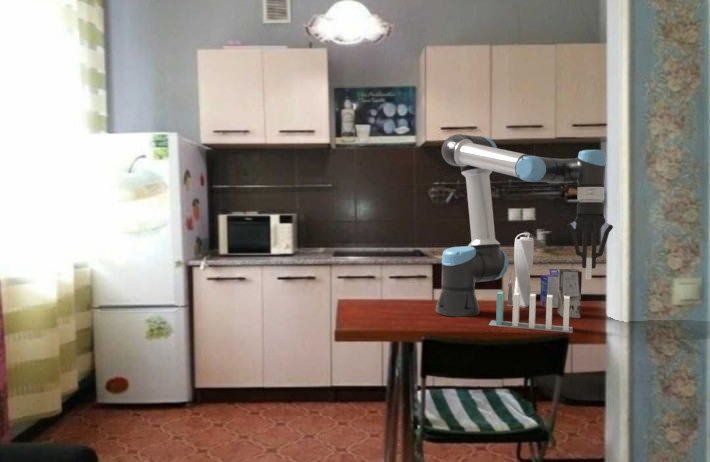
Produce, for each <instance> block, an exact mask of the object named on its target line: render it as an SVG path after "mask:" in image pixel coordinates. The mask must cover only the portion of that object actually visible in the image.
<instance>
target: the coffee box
mask: <svg viewBox="0 0 710 462" xmlns="http://www.w3.org/2000/svg"><path fill="white" fill-rule="evenodd" d="M558 272H559V281H558V308H557V313H558V315H559V316H560V317H562V318H563V313H564V296H570V303H569V318H572V319H573V318H574V319H580V318H581V307H582V305H581V304H582V281H583V280H582V279H583V271H581V270H579V269H577V268H575V269H574V268H558Z"/></svg>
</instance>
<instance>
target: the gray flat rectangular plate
mask: <svg viewBox="0 0 710 462" xmlns="http://www.w3.org/2000/svg"><path fill="white" fill-rule="evenodd" d="M488 326H492V327H496V326H497V327H506V328H514V329H516V328H517V329H529V330H538V331H539V330H540V331H548V332H549V331H550V332H560V333H561V332H562V333H571V334H572V333H573V331H574V329H573V326H569V331H563V325H554V324H552V327H551V330H550V329H546V324H541V323H535V327H534V328H529V322H528V323H527V322H519V324H518V327H516V326H512V321H504V320H503V323H502V325H496V319H495V320H494V319H491V320H490V322H489V324H488ZM573 334H574V333H573Z"/></svg>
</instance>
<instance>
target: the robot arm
mask: <svg viewBox="0 0 710 462" xmlns="http://www.w3.org/2000/svg"><path fill="white" fill-rule="evenodd" d="M605 153H606V152H605V151H604V150H602V149H583V150H580V151H579V152H578V155H577V157H576V158H552V157H544V156H543V157H542V156H537V155H532V154H525V153H521V152H516V151H511V150H507V149H501V148H498V146H497V145H496V143H495V142H494V141H493V140H492V139H491V138H490V137H489V138H488V137H485V136H482V135H470V134H469V135H468V134H462V133H460V134H459V133H458V134H457V133H456V134H452V135H450V136H449V137H447V138H446V139H445V140H444V142H443V144H442V146H441V155H442V158H443V160H445V162H446V163H447V164H449V165H450V166H455V167H460V172H461V175H462V176H463V177H465V182H466V184H465V185H466V193H467V195H466V196H467V203H468V204H467V205H468V214H469V226H470V227H469V228H470V239H471V241H470V243H469V244H468V245H466V246H465V245H464V246H463V245H462V246H461V245H460V246H453V247H449V248H446V249H445V250H443V252H442V258H441V291H440V294H439V297H438V300H437V302H436V306H435V312H436V313H437V314H439V315H442V316H446V317H455V318H456V317H474V316H478V315H480V306H479V303H478V298H477V295H476V291H475V290H476V289H475V288H476V283H480V282H493V281H495V280H496V281H497V280H500V279H501V278H502V277H504V275H505V274H506V272H507V271H508V268H509V258H508V255H507V253H505V251H504V250H503V249H501V243H500V241H498V240H497V239H496V232H495V223H494V221H495V220H494V212H493V210H494V209H493V200H492V190H491V180H490V175H491V174H492V173H493V172H494V173H499V174H504V175H507V176H512V177H516V178H519V179H520V180H521V181H524V182H529V183H535V182H537V183H539V182H540V183H547V184H569V183H577V192H576V193H577V195H576V196H577V201H578V202H577V204H576V217H575V219H574V221H573V222H570V223H568V224H567V228H568V230H569V231H570V233H571V237H572V241H573V246H574V250H575V254H576V256H578V257H581V267H582V269H585V280H589V281H590V280H592V270H593V269H595V270H596V267H597V266H596V265H597V258H598V257H602V256H603V255H604V253H605V248H606V246H607V245H606V244H607V241H608V239H609V234H610V232H611V231H612V230H613V229H614V226H613V225H612V224H610V223H608V222H607V221H606V218H605V203H604V202H603V201H604V200H605V190H606V189H605V175H606V154H605ZM603 226H604V227H603ZM577 227H578V228H579V229H580V231H582V250H581V251H580V246H579V242H578V238H577V233H576V230H575V229H577ZM601 228H603V230H604V232H603V235H602V238H601V240H600V241H601V242H600V245H599V248H598V251H597V240H598V239H597V235H598V234H597V233H598V231H600V230H601ZM588 233H591V254H590V255H591V256H590V257H588V256H587V255H588V253H587V252H588Z"/></svg>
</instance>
